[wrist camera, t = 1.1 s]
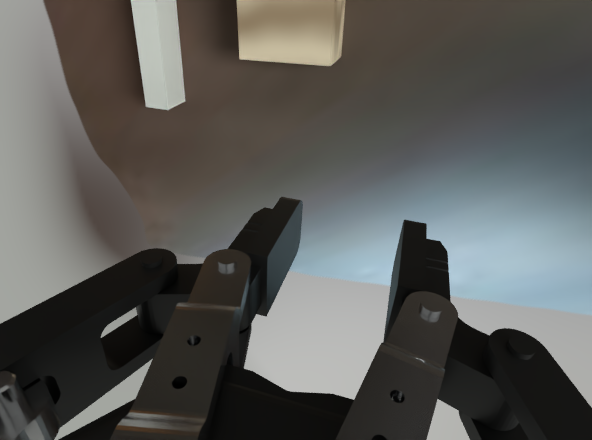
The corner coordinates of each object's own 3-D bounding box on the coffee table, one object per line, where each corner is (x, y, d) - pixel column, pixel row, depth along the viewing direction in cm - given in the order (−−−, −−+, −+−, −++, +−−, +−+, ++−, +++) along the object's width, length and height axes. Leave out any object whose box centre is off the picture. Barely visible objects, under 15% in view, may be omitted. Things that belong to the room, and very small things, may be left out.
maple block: (257, -49, 35) (234, -53, 31) (349, -48, 33) (338, -52, 29) (259, 50, 39) (239, 59, 35) (341, 56, 37) (330, 66, 33)
